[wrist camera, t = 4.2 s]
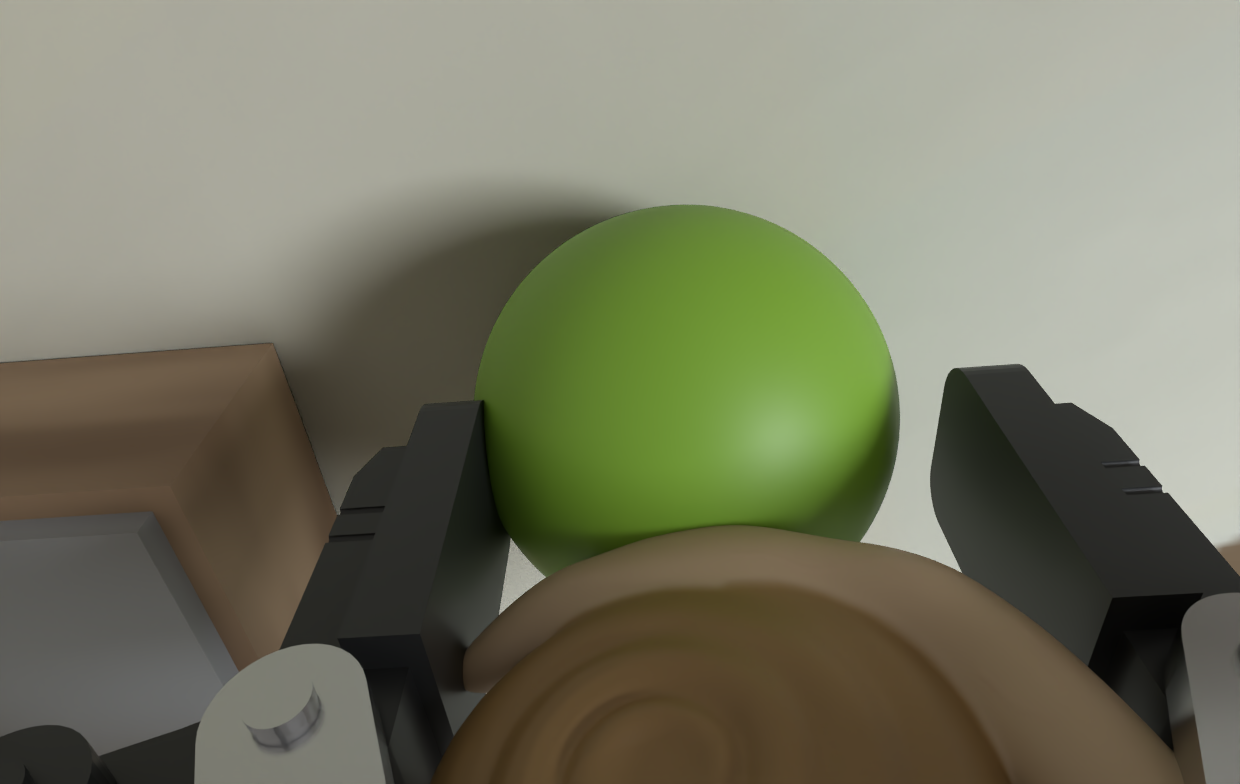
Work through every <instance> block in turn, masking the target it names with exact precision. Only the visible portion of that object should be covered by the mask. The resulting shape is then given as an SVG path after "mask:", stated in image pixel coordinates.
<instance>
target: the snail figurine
mask: <svg viewBox="0 0 1240 784" xmlns="http://www.w3.org/2000/svg"><path fill="white" fill-rule="evenodd" d="M476 400H484V429H485V443H486V453H487V461H488V469H489V475H490V481H491V487H492V492H493V496H494V501H495V505H496V508H497V512H498V515H499V517H500V520H501V522H502V524H503V526H504V528H505V529H506V531H507V532H508V534H509V536H510V537H511V538H512V540H513V541H514V543H515V544H516V545H517V547H518V548H519V549H520V550H521V552H522V553H523V554H524V555H525V556H526V557H527V559H528V560H529V561H530V562H531V563H532V564H533V565H534V566H535V567H536V568H537V569H538V570H539V571H540V572H541V573H542V574H543V575H544V576H545V577H546V578H545V579H543V580H542V581H540V582H539V583H537V584H536V585H535V586H533V587H532V588H531V589H529V590H528V591H527V592H525V593H524V594H523V595H522V596H520V597H519V598H518V599H517V600H516V601H514V602H513V603H512V604H511V605H510V606H509V607H508V608H506V609H505V610H504V611H503V612H502V613H501V614H500V615H499V616H498V617H497V618H496V619H495V620H493V621H492V622H491V623H490V624H489V625H488V626H487V627H486V628H485V629H484V630H483V631H482V632H481V633H480V635H479V636H478V637H477V638H476V639H475V640H474V641H473V642H472V643H471V645H470V646H469V647H468V649H467V650H466V652H465V655H464V660H463V683H464V688H465V690H466V691H469V692H474V693H487V694H486V695H485V696H484V697H483V698H482V699H481V700H480V702H479V703H478V704H477V705H476V707H475V708H474V709H473V710H472V712H471V713H470V714H469V716H468V717H467V718H466V720H465V721H464V722H463V724H462V725H461V727H460V728H459V729H458V731H457V732H456V734H455V735H454V737H453V739H452V740H451V742H450V744H449V746H448V748H447V749H446V751H445V753H444V755H443V757H442V759H441V761H440V763H439V765H438V767H437V769H436V770H435V772H434V774H433V777H432V779H431V781H430V783H429V784H1184V782H1183V778H1182V775H1181V772H1180V769H1179V766H1178V763H1177V761H1176V759H1175V755H1174V752H1173V751H1172V750H1171V749H1170V748H1169V747H1168V746H1167V745H1166V744H1165V743H1164V742H1163V741H1162V739H1161V738H1160V737H1159V736H1158V735H1157V734H1156V733H1155V732H1154V731H1153V730H1152V729H1151V728H1150V727H1149V726H1148V725H1147V724H1146V723H1145V722H1144V721H1143V720H1142V719H1141V718H1140V717H1139V716H1138V715H1137V714H1136V713H1135V712H1134V711H1133V710H1132V709H1131V708H1130V707H1129V706H1128V705H1127V704H1126V703H1125V702H1124V701H1123V700H1122V699H1121V698H1120V697H1119V696H1118V695H1117V694H1116V693H1115V692H1114V691H1113V690H1112V689H1111V688H1110V687H1109V686H1108V685H1107V684H1106V683H1105V682H1104V681H1103V680H1102V679H1100V678H1099V677H1098V676H1097V675H1096V674H1095V673H1094V672H1093V671H1092V670H1091V669H1090V668H1089V667H1088V666H1086V665H1085V664H1084V663H1083V662H1082V661H1081V660H1080V659H1079V658H1077V657H1076V656H1075V655H1074V654H1073V653H1072V652H1071V651H1070V650H1068V649H1067V648H1066V647H1065V646H1064V645H1063V644H1061V643H1060V642H1059V641H1058V640H1057V639H1056V638H1054V637H1053V636H1052V635H1051V634H1050V633H1048V632H1047V631H1046V630H1045V629H1043V628H1042V627H1041V626H1039V625H1038V624H1037V623H1036V622H1034V621H1033V620H1032V619H1030V618H1029V617H1028V616H1026V615H1025V614H1023V613H1022V612H1021V611H1019V610H1018V609H1016V608H1015V607H1014V606H1012V605H1011V604H1009V603H1008V602H1007V601H1005V600H1004V599H1003V598H1001V597H1000V596H998V595H997V594H995V593H994V592H992V591H991V590H989V589H987V588H986V587H984V586H983V585H981V584H980V583H978V582H976V581H975V580H973V579H971V578H970V577H968V576H966V575H964V574H962V573H961V572H959V571H957V570H955V569H953V568H951V567H948V566H946V565H944V564H941V563H939V562H936V561H934V560H931V559H929V558H926V557H923V556H920V555H917V554H914V553H910V552H907V551H903V550H899V549H895V548H890V547H885V546H880V545H874V544H868V543H861V542H860V541H861V539H862V538H863V536H864V535H865V533H866V532H867V530H868V529H869V527H870V525H871V524H872V522H873V520H874V518H875V516H876V514H877V513H878V511H879V508H880V506H881V504H882V502H883V499H884V497H885V494H886V492H887V489H888V486H889V483H890V480H891V477H892V473H893V469H894V465H895V460H896V455H897V449H898V441H899V429H900V408H899V395H898V387H897V381H896V375H895V371H894V367H893V363H892V359H891V356H890V353H889V350H888V347H887V344H886V341H885V339H884V336H883V334H882V332H881V329H880V327H879V325H878V323H877V321H876V319H875V318H874V316H873V314H872V312H871V310H870V309H869V307H868V305H867V304H866V302H865V301H864V299H863V298H862V296H861V295H860V293H859V292H858V291H857V289H856V288H855V287H854V286H853V284H852V283H851V282H850V281H849V279H848V278H847V277H846V276H845V275H844V274H843V273H842V272H841V271H840V270H839V269H838V268H837V267H836V266H835V265H834V264H833V263H832V262H831V261H830V260H829V259H828V258H827V257H826V256H824V255H823V254H822V253H821V252H819V251H818V250H817V249H816V248H814V247H813V246H812V245H810V244H809V243H807V242H806V241H804V240H803V239H801V238H800V237H798V236H797V235H795V234H793V233H791V232H790V231H788V230H786V229H784V228H782V227H780V226H778V225H776V224H774V223H771V222H769V221H767V220H764V219H761V218H759V217H756V216H753V215H750V214H747V213H743V212H739V211H735V210H731V209H726V208H720V207H714V206H705V205H669V206H659V207H652V208H646V209H641V210H637V211H633V212H629V213H625V214H622V215H619V216H616V217H613V218H611V219H608V220H605V221H603V222H601V223H598V224H596V225H594V226H592V227H590V228H588V229H586V230H584V231H583V232H581V233H579V234H577V235H576V236H574V237H573V238H571V239H569V240H568V241H566V242H565V243H563V244H562V245H561V246H559V247H558V248H557V249H555V250H554V251H553V252H552V253H550V254H549V255H548V256H547V257H546V258H544V259H543V260H542V261H541V262H540V263H539V264H538V265H537V266H536V267H535V268H534V269H533V270H532V271H531V272H530V273H529V274H528V275H527V277H526V278H525V279H524V280H523V281H522V282H521V284H520V285H519V286H518V287H517V289H516V290H515V291H514V293H513V294H512V296H511V297H510V299H509V300H508V301H507V303H506V305H505V306H504V308H503V310H502V311H501V313H500V315H499V317H498V319H497V321H496V322H495V325H494V327H493V329H492V331H491V333H490V336H489V338H488V341H487V343H486V346H485V349H484V352H483V355H482V359H481V362H480V366H479V370H478V375H477V380H476V387H475V395H474V401H476Z"/></svg>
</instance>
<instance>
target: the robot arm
mask: <svg viewBox="0 0 1240 784" xmlns="http://www.w3.org/2000/svg"><path fill="white" fill-rule="evenodd" d="M930 487H931V497H932V503H933V507H934V511H935V515H936V518H937V520H938V522H939V525H940V527H941V529H942V531H943V533H944V535H945V537H946V539H947V542H948V544H949V546H950V548H951V550H952V552H953V554H954V556H955V558H956V561H957V563H958V565H959V567H960V569H961V571H962V573H963V574H964V575H966V576H968V577H970V578H971V579H973V580H975V581H976V582H978V583H980V584H981V585H983V586H984V587H986V588H987V589H989V590H991V591H992V592H994V593H995V594H997V595H998V596H1000V597H1001V598H1003V599H1004V600H1005V601H1007V602H1008V603H1009V604H1011V605H1012V606H1014V607H1015V608H1016V609H1018V610H1019V611H1021V612H1022V613H1023V614H1025V615H1026V616H1028V617H1029V618H1030V619H1032V620H1033V621H1034V622H1036V623H1037V624H1038V625H1039V626H1041V627H1042V628H1043V629H1045V630H1046V631H1047V632H1048V633H1050V634H1051V635H1052V636H1053V637H1054V638H1056V639H1057V640H1058V641H1059V642H1060V643H1061V644H1063V645H1064V646H1065V647H1066V648H1067V649H1068V650H1070V651H1071V652H1072V653H1073V654H1074V655H1075V656H1076V657H1077V658H1079V659H1080V660H1081V661H1082V662H1083V663H1084V664H1085V665H1086V666H1088V667H1089V668H1090V669H1091V670H1092V671H1093V672H1094V673H1095V674H1096V675H1097V676H1098V677H1099V678H1100V679H1102V680H1103V681H1104V682H1105V683H1106V684H1107V685H1108V686H1109V687H1110V688H1111V689H1112V690H1113V691H1114V692H1115V693H1116V694H1117V695H1118V696H1119V697H1120V698H1121V699H1122V700H1123V701H1124V702H1125V703H1126V704H1127V705H1128V706H1129V707H1130V708H1131V709H1132V710H1133V711H1134V712H1135V713H1136V714H1137V715H1138V716H1139V717H1140V718H1141V719H1142V720H1143V721H1144V722H1145V723H1146V724H1147V725H1148V726H1149V727H1150V728H1151V729H1152V730H1153V731H1154V732H1155V733H1156V734H1157V735H1158V736H1159V737H1160V738H1161V739H1162V741H1163V742H1164V743H1165V744H1166V745H1167V746H1168V747H1169V748H1170V749H1171V750H1172V751H1173V752H1174V755H1175V759H1176V761H1177V763H1178V766H1179V769H1180V772H1181V775H1182V778H1183V782H1184V784H1240V576H1239V575H1238V574H1237V573H1236V572H1235V571H1234V569H1233V568H1232V567H1231V566H1230V565H1229V563H1228V562H1227V561H1226V560H1225V559H1224V558H1223V557H1222V555H1221V554H1220V553H1219V552H1218V551H1217V549H1216V548H1215V547H1214V546H1213V545H1212V544H1211V542H1210V541H1209V540H1208V539H1207V538H1206V537H1205V535H1204V534H1203V533H1202V532H1201V531H1200V530H1199V528H1198V527H1197V526H1196V525H1195V524H1194V523H1193V521H1192V520H1191V519H1190V518H1189V517H1188V516H1187V514H1186V513H1185V512H1184V511H1183V510H1182V509H1181V507H1180V506H1179V505H1178V504H1177V503H1176V502H1175V500H1174V499H1173V498H1172V497H1171V496H1170V495H1169V493H1163V492H1162V485H1161V484H1160V483H1159V482H1158V481H1157V479H1156V478H1155V477H1154V476H1153V475H1152V474H1151V472H1150V471H1149V470H1148V469H1147V468H1146V467H1145V466H1140V464H1139V458H1138V457H1137V456H1136V455H1135V454H1134V453H1133V451H1132V450H1131V449H1130V448H1129V447H1128V446H1127V444H1126V443H1125V442H1124V441H1123V440H1122V438H1121V437H1120V436H1119V435H1118V434H1117V433H1116V431H1115V430H1114V429H1113V428H1112V427H1110V426H1108V425H1107V424H1105V423H1103V422H1102V421H1100V420H1099V419H1097V418H1095V417H1094V416H1092V415H1090V414H1089V413H1087V412H1086V411H1084V410H1082V409H1081V408H1079V407H1077V406H1076V405H1074V404H1073V403H1061V404H1054V402H1053V401H1052V400H1051V398H1050V397H1049V396H1048V395H1047V393H1046V392H1045V391H1044V390H1043V388H1042V387H1041V386H1040V385H1039V383H1038V382H1037V381H1036V379H1035V378H1034V377H1033V376H1032V374H1031V373H1030V372H1029V371H1028V370H1027V369H1026V367H1024V366H1023V365H1020V364H1010V365H995V366H981V367H967V368H954V369H953V370H951V371H950V373H949V374H948V376H947V379H946V382H945V386H944V392H943V398H942V404H941V410H940V416H939V422H938V429H937V435H936V441H935V447H934V453H933V459H932V465H931V473H930ZM340 511H341V513H340V515H337V517H336V519H335V522H334V524H333V526H332V529H331V531H330V533H329V542H328V543H325V545H324V547H323V549H322V552H321V554H320V556H319V559H318V561H317V563H316V566H315V568H314V570H313V573H312V575H311V577H310V580H309V582H308V584H307V587H306V589H305V591H304V594H303V596H302V598H301V601H300V603H299V605H298V608H297V610H296V612H295V614H294V617H293V619H292V621H291V624H290V626H289V628H288V631H287V633H286V635H285V638H284V640H283V642H282V645H281V647H280V649H279V650H278V651H276V652H273V653H271V654H269V655H266V656H264V657H262V658H260V659H259V660H257V661H255V662H253V663H251V664H250V665H249V666H247V667H246V668H244V669H243V670H241V671H240V672H239V673H237V674H236V675H235V676H234V677H233V678H232V679H231V680H229V681H228V682H227V683H226V684H225V685H224V686H223V688H222V689H221V690H220V691H219V692H218V693H217V694H216V696H215V697H214V698H213V700H212V701H211V703H210V704H209V705H208V707H207V709H206V711H205V713H204V715H203V717H202V719H201V721H199V722H197V723H194V724H192V725H189V726H187V727H184V728H181V729H178V730H175V731H172V732H169V733H166V734H163V735H160V736H157V737H154V738H151V739H148V740H145V741H142V742H139V743H136V744H133V745H130V746H127V747H124V748H121V749H118V750H115V751H112V752H109V753H106V754H103V755H100V756H98V754H97V753H96V752H95V750H94V749H93V748H92V746H91V745H90V744H89V743H88V741H87V740H86V739H85V738H84V737H83V736H82V735H81V734H80V733H79V732H77V731H75V730H74V729H72V728H68V727H64V726H61V725H42V726H33V727H29V728H25V729H21V730H17V731H15V732H12V733H9V734H6V735H4V736H1V737H0V784H429V783H430V781H431V779H432V777H433V774H434V772H435V770H436V769H437V767H438V765H439V763H440V761H441V759H442V757H443V755H444V753H445V751H446V749H447V748H448V746H449V744H450V742H451V740H452V739H453V737H454V735H455V734H456V732H457V731H458V729H459V728H460V727H461V725H462V724H463V722H464V721H465V720H466V718H467V717H468V716H469V714H470V713H471V712H472V710H473V709H474V708H475V707H476V705H477V704H478V703H479V702H480V700H481V699H482V698H483V697H484V696H485V695H486V693H474V692H469V691H466V690H465V688H464V683H463V660H464V655H465V652H466V650H467V649H468V647H469V646H470V645H471V643H472V642H473V641H474V640H475V639H476V638H477V637H478V636H479V635H480V633H481V632H482V631H483V630H484V629H485V628H486V627H487V626H488V625H489V624H490V623H491V622H492V621H493V620H495V619H496V618H497V617H498V616H499V610H500V603H501V597H502V591H503V585H504V579H505V572H506V566H507V560H508V554H509V547H510V538H511V537H510V536H509V534H508V532H507V531H506V529H505V528H504V526H503V524H502V522H501V520H500V517H499V515H498V512H497V508H496V505H495V501H494V496H493V492H492V487H491V481H490V475H489V469H488V461H487V453H486V443H485V429H484V400H476V401H461V402H447V403H433V404H424V405H423V406H422V407H421V409H420V411H419V414H418V417H417V420H416V422H415V425H414V428H413V431H412V433H411V436H410V439H409V442H408V444H407V446H401V447H386V448H382V449H381V450H380V451H379V452H378V453H377V454H376V455H375V456H374V457H373V458H372V459H371V460H370V461H369V462H368V463H367V464H366V465H365V466H364V467H363V468H362V469H361V470H360V471H359V472H358V473H357V474H356V475H355V476H354V477H353V480H352V482H351V484H350V487H349V489H348V491H347V494H346V496H345V498H344V501H343V503H342V505H341V508H340Z"/></svg>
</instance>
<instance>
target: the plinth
mask: <svg viewBox="0 0 1240 784" xmlns="http://www.w3.org/2000/svg"><path fill="white" fill-rule="evenodd" d="M336 517H337V514H336V512H335V509H334V506H333V504H332V501H331V498H330V495H329V493H328V490H327V487H326V485H325V482H324V479H323V477H322V474H321V471H320V469H319V466H318V463H317V461H316V458H315V455H314V453H313V450H312V447H311V445H310V442H309V439H308V436H307V434H306V431H305V428H304V426H303V423H302V420H301V418H300V415H299V412H298V410H297V407H296V404H295V402H294V399H293V396H292V394H291V391H290V388H289V385H288V383H287V380H286V377H285V375H284V372H283V369H282V367H281V364H280V361H279V359H278V356H277V353H276V351H275V348H274V345H273V343H267V344H253V345H240V346H226V347H213V348H199V349H186V350H172V351H159V352H145V353H132V354H118V355H105V356H91V357H78V358H64V359H51V360H37V361H24V362H10V363H0V737H1V736H4V735H6V734H9V733H12V732H15V731H17V730H21V729H25V728H29V727H33V726H42V725H61V726H64V727H68V728H72V729H74V730H75V731H77V732H79V733H80V734H81V735H82V736H83V737H84V738H85V739H86V740H87V741H88V743H89V744H90V745H91V746H92V748H93V749H94V750H95V752H96V753H97V754H98V756H100V755H103V754H106V753H109V752H112V751H115V750H118V749H121V748H124V747H127V746H130V745H133V744H136V743H139V742H142V741H145V740H148V739H151V738H154V737H157V736H160V735H163V734H166V733H169V732H172V731H175V730H178V729H181V728H184V727H187V726H189V725H192V724H194V723H197V722H199V721H201V719H202V717H203V715H204V713H205V711H206V709H207V707H208V705H209V704H210V703H211V701H212V700H213V698H214V697H215V696H216V694H217V693H218V692H219V691H220V690H221V689H222V688H223V686H224V685H225V684H226V683H227V682H228V681H229V680H231V679H232V678H233V677H234V676H235V675H236V674H237V673H239V672H240V671H241V670H243V669H244V668H246V667H247V666H249V665H250V664H251V663H253V662H255V661H257V660H259V659H260V658H262V657H264V656H266V655H269V654H271V653H273V652H276V651H278V650H279V649H280V647H281V645H282V642H283V640H284V638H285V635H286V633H287V631H288V628H289V626H290V624H291V621H292V619H293V617H294V614H295V612H296V610H297V608H298V605H299V603H300V601H301V598H302V596H303V594H304V591H305V589H306V587H307V584H308V582H309V580H310V577H311V575H312V573H313V570H314V568H315V566H316V563H317V561H318V559H319V556H320V554H321V552H322V549H323V547H324V545H325V543H328V542H329V533H330V531H331V529H332V526H333V524H334V522H335V519H336Z"/></svg>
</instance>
